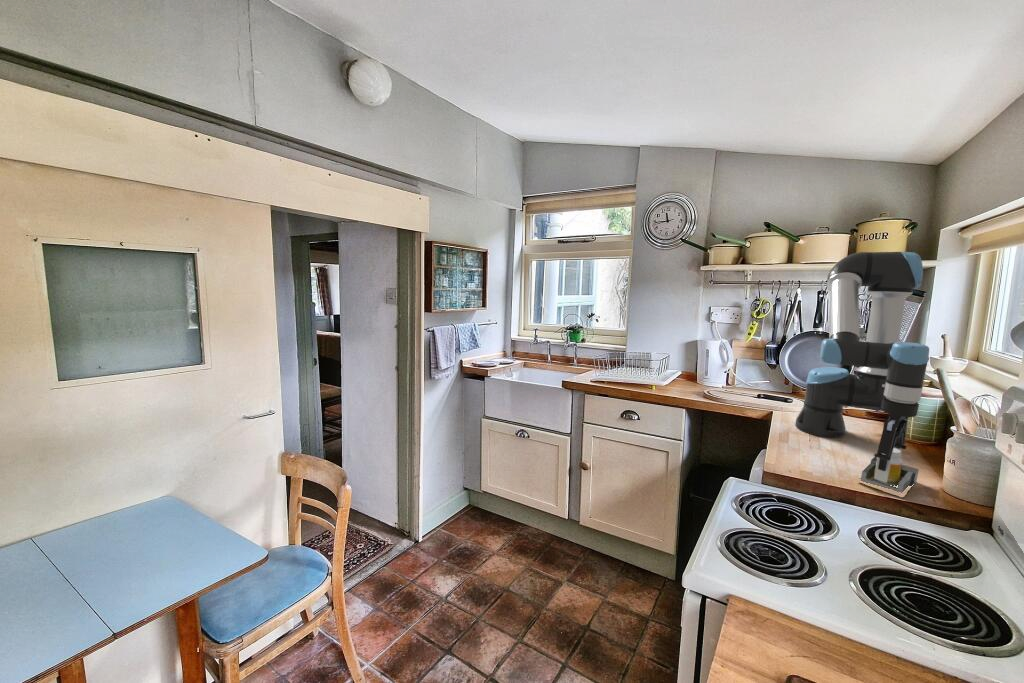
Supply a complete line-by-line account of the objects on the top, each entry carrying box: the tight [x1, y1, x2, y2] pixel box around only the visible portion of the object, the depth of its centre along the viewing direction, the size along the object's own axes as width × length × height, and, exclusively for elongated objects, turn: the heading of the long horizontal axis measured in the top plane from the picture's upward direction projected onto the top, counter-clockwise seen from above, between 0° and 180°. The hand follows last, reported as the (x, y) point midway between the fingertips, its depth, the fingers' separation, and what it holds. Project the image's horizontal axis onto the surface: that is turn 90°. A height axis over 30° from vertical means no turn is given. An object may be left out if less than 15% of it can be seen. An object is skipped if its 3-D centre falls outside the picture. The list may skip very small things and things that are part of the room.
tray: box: [859, 456, 920, 493], centre depth 124 cm, size 14×10×5 cm
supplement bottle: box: [874, 448, 903, 486], centre depth 123 cm, size 5×5×10 cm
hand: (886, 474), depth 122 cm, fingers open, 10 cm apart
